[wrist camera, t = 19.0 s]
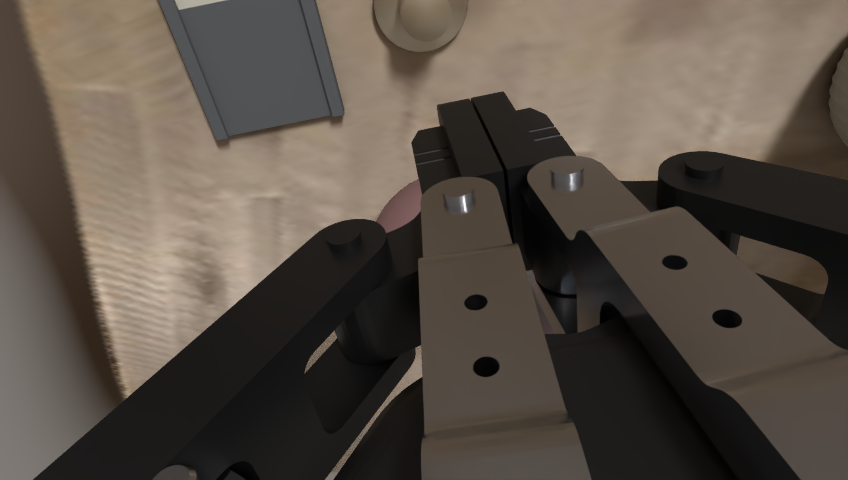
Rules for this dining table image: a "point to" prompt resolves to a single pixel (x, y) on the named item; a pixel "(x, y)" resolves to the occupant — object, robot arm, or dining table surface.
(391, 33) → the beige brimmed cylinder
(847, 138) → the canister
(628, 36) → the dining table surface
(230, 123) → the lane
